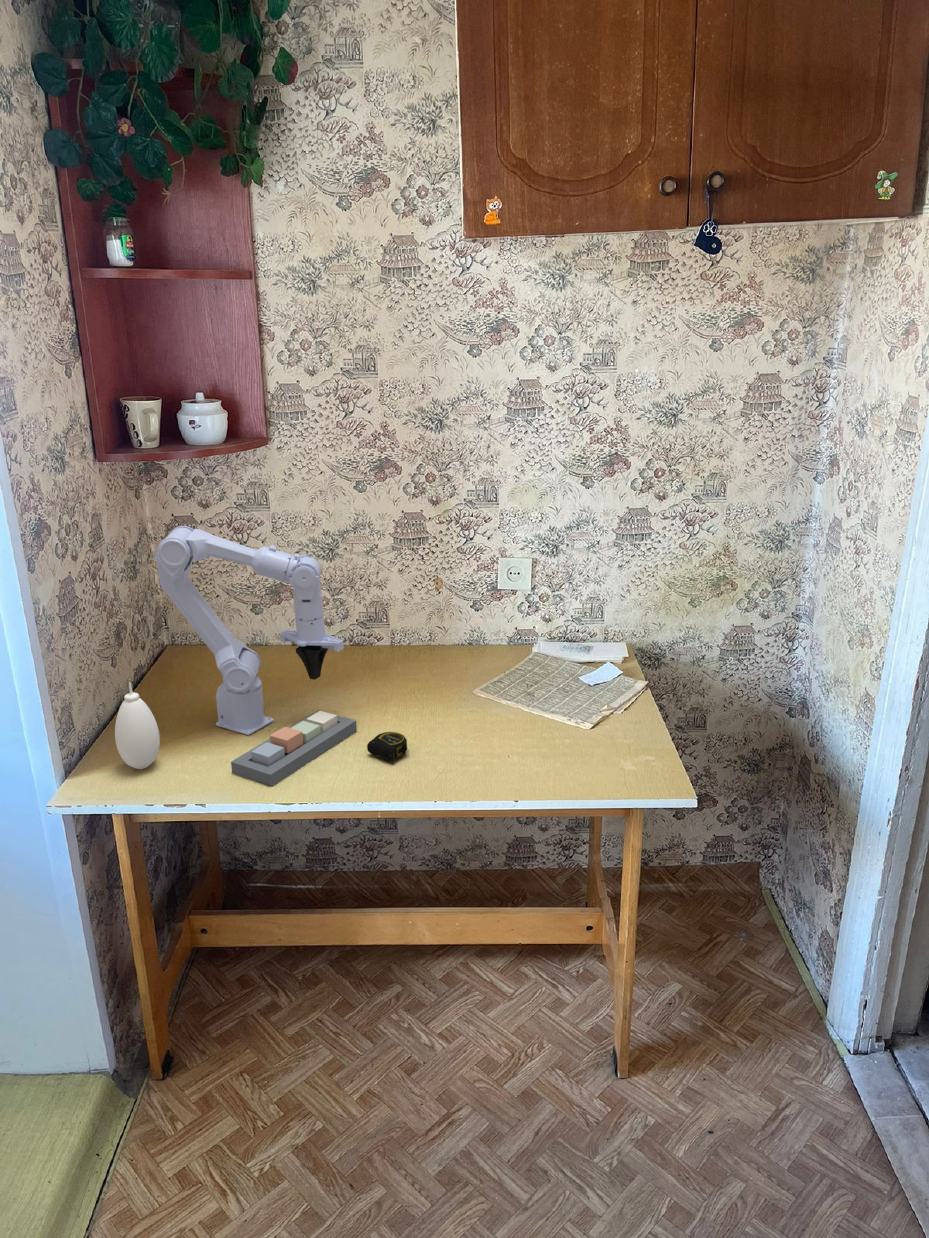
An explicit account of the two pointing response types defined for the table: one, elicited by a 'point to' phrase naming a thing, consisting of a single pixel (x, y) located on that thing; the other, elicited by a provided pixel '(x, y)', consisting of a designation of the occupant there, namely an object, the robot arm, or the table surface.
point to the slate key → (267, 754)
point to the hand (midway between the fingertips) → (315, 677)
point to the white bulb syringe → (136, 732)
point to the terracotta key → (287, 739)
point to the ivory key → (323, 720)
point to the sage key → (308, 730)
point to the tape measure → (388, 746)
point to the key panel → (293, 754)
